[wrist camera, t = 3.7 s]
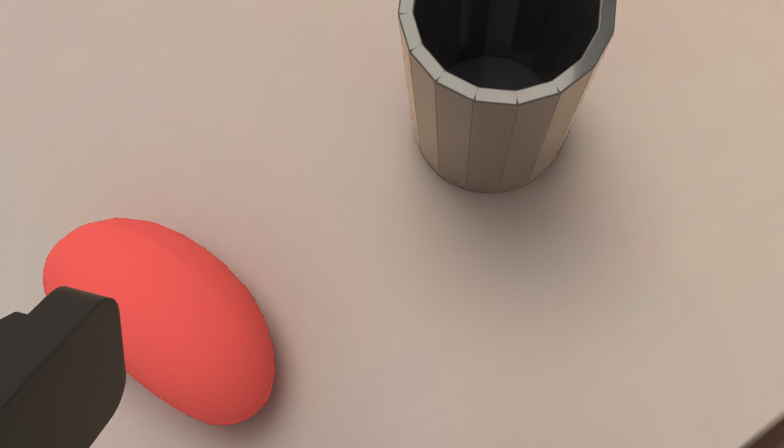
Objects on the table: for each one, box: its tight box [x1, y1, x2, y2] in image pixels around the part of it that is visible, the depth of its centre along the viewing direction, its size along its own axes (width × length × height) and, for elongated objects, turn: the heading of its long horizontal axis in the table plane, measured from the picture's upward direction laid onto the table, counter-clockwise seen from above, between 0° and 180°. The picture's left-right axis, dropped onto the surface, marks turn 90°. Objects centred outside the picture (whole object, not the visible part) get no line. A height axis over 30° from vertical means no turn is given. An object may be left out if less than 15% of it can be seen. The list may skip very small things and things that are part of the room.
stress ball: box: [43, 218, 275, 425], centre depth 26 cm, size 5×9×6 cm, turn 44°
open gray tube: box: [398, 0, 617, 193], centre depth 25 cm, size 6×6×9 cm
